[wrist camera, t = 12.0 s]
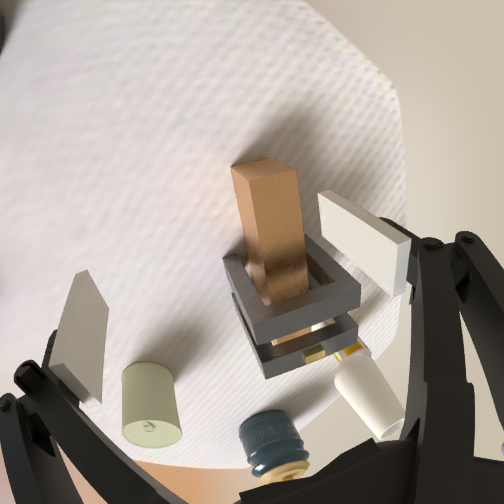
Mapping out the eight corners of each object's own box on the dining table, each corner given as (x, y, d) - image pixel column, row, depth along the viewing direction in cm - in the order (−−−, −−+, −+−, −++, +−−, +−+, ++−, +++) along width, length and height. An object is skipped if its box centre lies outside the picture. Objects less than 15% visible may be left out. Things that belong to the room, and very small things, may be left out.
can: (168, 358, 45) (176, 418, 35) (178, 392, 49) (188, 447, 39) (114, 364, 43) (112, 425, 32) (130, 397, 47) (132, 453, 36)
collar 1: (222, 258, 40) (252, 324, 28) (305, 233, 42) (361, 284, 30) (227, 276, 41) (257, 345, 29) (306, 252, 43) (359, 306, 31)
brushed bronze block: (229, 166, 35) (248, 181, 28) (269, 157, 36) (296, 169, 29) (261, 319, 46) (279, 354, 40) (291, 309, 47) (312, 341, 40)
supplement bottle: (318, 343, 53) (344, 381, 44) (335, 319, 52) (364, 357, 43) (338, 346, 56) (365, 382, 47) (354, 324, 54) (384, 359, 45)
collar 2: (231, 293, 43) (263, 367, 30) (308, 269, 45) (361, 328, 32) (235, 309, 44) (267, 383, 32) (309, 285, 46) (359, 346, 34)
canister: (295, 404, 61) (328, 466, 46) (284, 432, 66) (309, 487, 51) (240, 414, 57) (265, 483, 42) (234, 441, 62) (255, 502, 47)
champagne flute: (327, 299, 49) (415, 405, 28) (338, 322, 52) (415, 420, 32) (294, 321, 49) (368, 438, 28) (307, 343, 52) (375, 448, 32)
